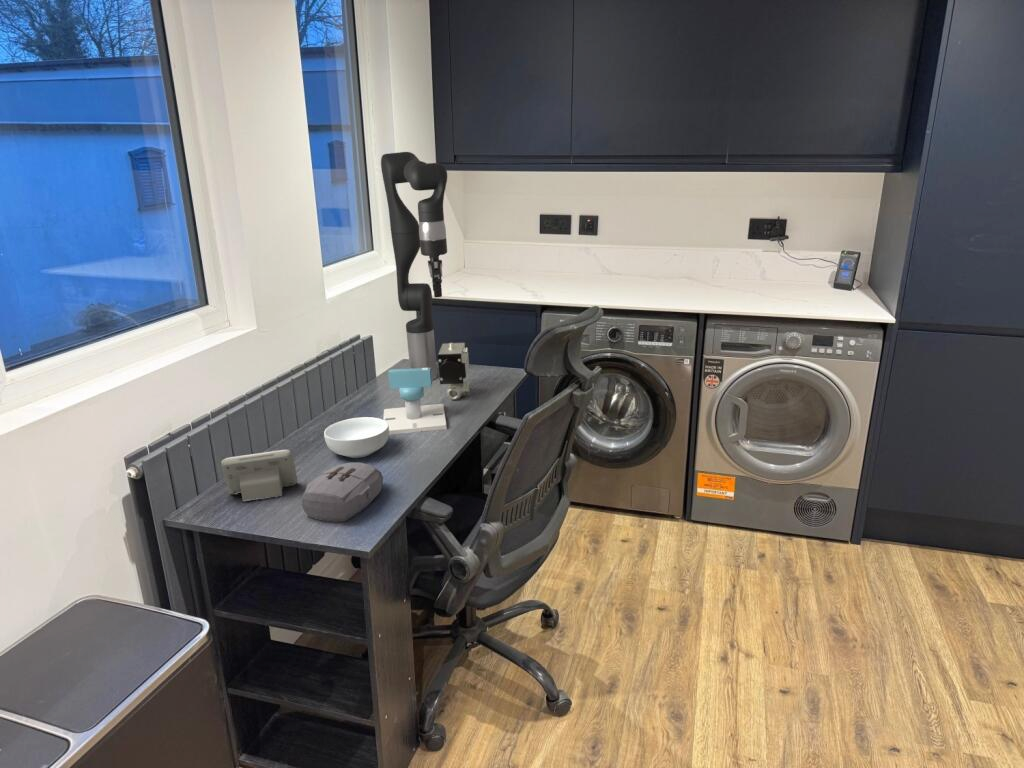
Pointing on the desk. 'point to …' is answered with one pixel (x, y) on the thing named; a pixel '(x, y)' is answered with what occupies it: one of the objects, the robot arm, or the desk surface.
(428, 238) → the robot arm
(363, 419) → the cereal bowl
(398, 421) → the base plate
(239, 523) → the desk surface
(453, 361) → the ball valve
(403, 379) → the blue switch lever
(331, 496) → the small grey backpack
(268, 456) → the digital clock
